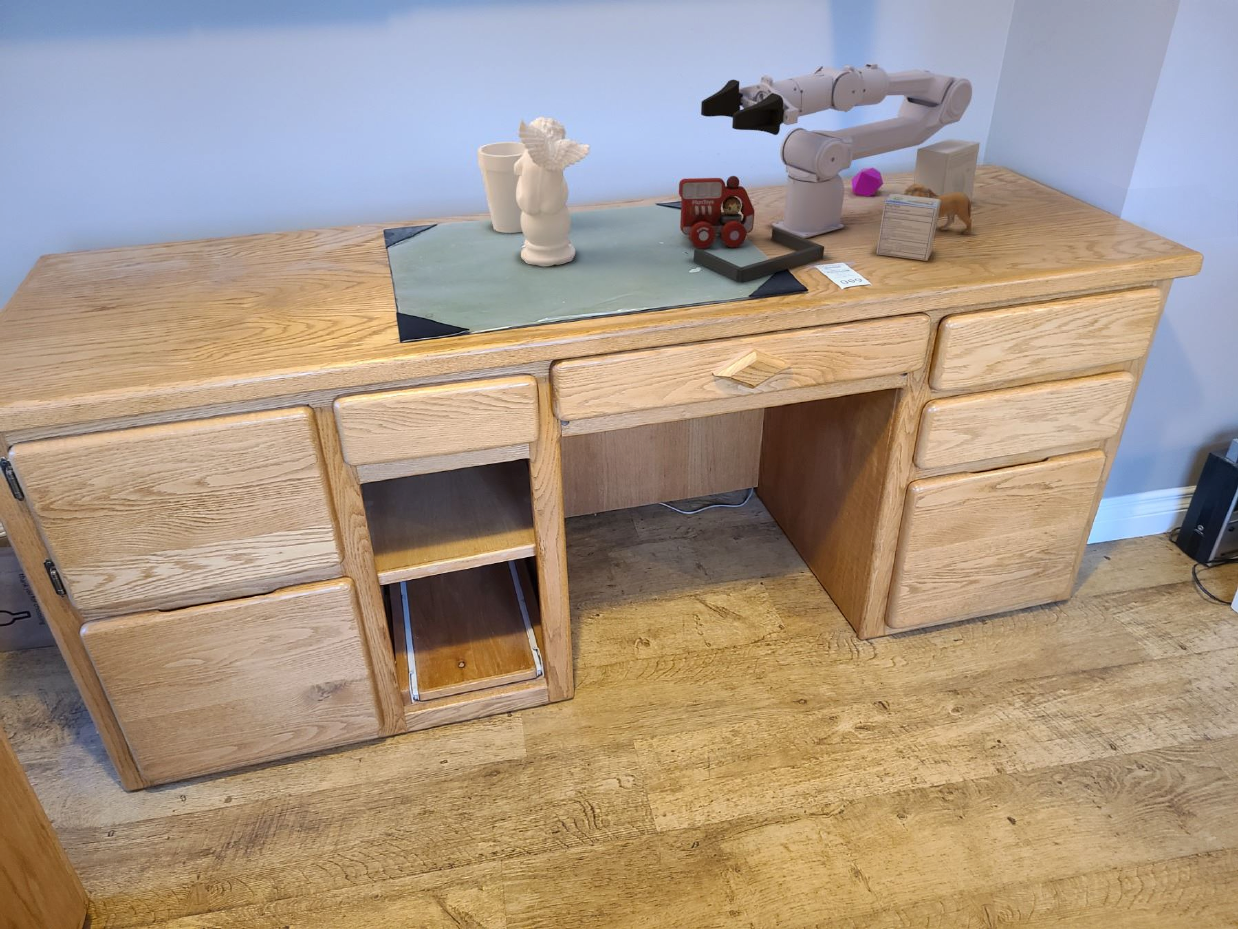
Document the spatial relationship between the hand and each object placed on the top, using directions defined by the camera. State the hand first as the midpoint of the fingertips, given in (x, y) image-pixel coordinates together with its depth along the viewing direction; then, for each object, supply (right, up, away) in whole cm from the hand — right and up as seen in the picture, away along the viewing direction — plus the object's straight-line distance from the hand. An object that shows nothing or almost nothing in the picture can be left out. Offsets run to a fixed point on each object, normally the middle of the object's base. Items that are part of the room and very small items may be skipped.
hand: (717, 114), depth 132 cm
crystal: (+32, 0, +37) cm, 49 cm away
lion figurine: (+38, -14, +17) cm, 44 cm away
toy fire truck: (+1, -15, +15) cm, 21 cm away
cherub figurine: (-24, -20, +8) cm, 32 cm away
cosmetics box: (+44, -5, +30) cm, 54 cm away
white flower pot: (-33, -11, +22) cm, 41 cm away
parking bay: (+7, -20, +8) cm, 22 cm away
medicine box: (+30, -18, +10) cm, 37 cm away
